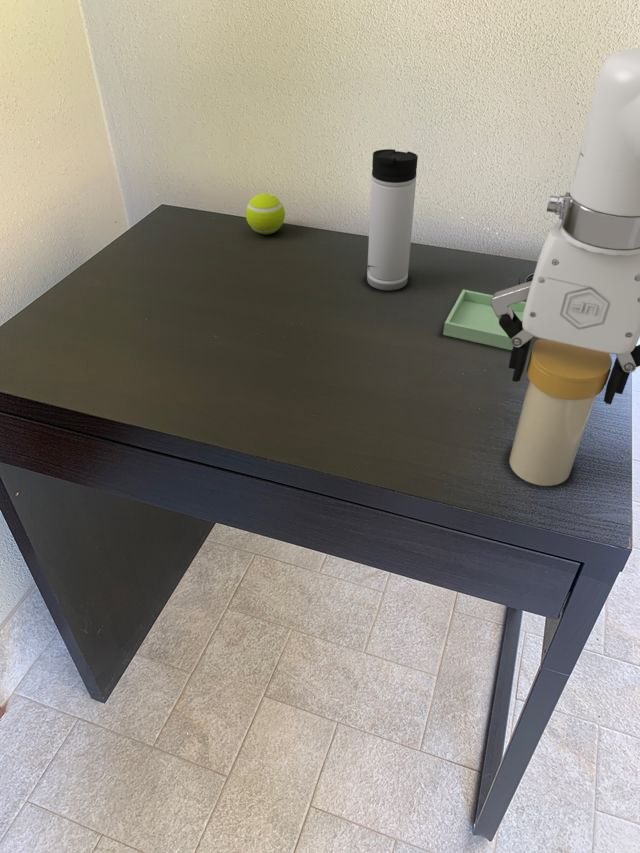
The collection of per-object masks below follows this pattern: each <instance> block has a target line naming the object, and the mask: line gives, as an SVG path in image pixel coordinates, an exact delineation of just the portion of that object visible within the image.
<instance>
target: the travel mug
mask: <svg viewBox="0 0 640 853" xmlns="http://www.w3.org/2000/svg"><path fill="white" fill-rule="evenodd" d="M418 159H419V156H418V155H417V153H415V152H412V151H407V152H406V151H400V150H398V151H397V150H396V149H395V148H394V149H392V148H391V149H390V148H387V149H378V150H375V151H373V152H372V162H371V163H372V165H371V167H372V169H371V175H370V176H371V179H370V201H369V203H370V204H369V222H368V223H369V224H368V225H369V226H368V227H369V228H368V247H367V248H368V251H367V253H368V254H367V270H366V273H367V274H366V275H367V276H366V280H367V284H368V285H369V286H371V287H373V288H374V289H377V290H381V291H387V292H388V291H396V290H400V289H402V288H403V287H405V286H406V285H407V283H408V278H409V267H410V256H411V244H412V231H413V221H414V210H415V209H414V208H415V199H416V198H415V197H416V186H417V176H418V175H417V169H418Z"/></svg>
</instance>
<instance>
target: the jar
mask: <svg viewBox="0 0 640 853" xmlns="http://www.w3.org/2000/svg"><path fill="white" fill-rule="evenodd" d="M526 385H527V386H526V390H525V394H524V398H523V401H522V406H521V410H520V413H519V417H518V422H517V426H516V430H515V434H514V438H513V442H512V445H511V451H510V453H509V459H508V460H509V465H510V468H511V470H512V471H513V472H514V474H516V476H518V477H519V478H520V479H522V480H524V481H525V482H528V483H529V484H533V485H536V486H542V487H552V486H557V485H559V484H562V483H565V481H567V480H568V479H569V477H570V475H571V472H572V469H573V466H574V464H575V461H576V457H577V454H578V452H579V448H580V445H581V443H582V440H583V436H584V433H585V430H586V427H587V425H588V421H589V418H590V415H591V413H592V410H593V407H594V404H595V400H596V398H597V395H596V396H594V397H592V398H589V399H584V400H567V399H561V398H557V397H554V396H551V395H548V394H546V393H544V392H542V391H541V390H539V389H538V388H536V387H535V386H534V385H533V384H532V383H531V382H530V380H529V379H528V382H527V384H526Z"/></svg>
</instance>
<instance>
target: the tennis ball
mask: <svg viewBox="0 0 640 853" xmlns="http://www.w3.org/2000/svg"><path fill="white" fill-rule="evenodd" d="M285 217H286V212H285V208H284V204H283V203H282V201H281V200H280V199H279V198H278V197H276V196H275V195H274V194H271V193H260V194H256V195H255V196H253V197H252V198H251V199H250V200H249V202H248V203H247V205H246V209H245V218H246V219H245V220H246V221H247V224H248V226H249V227H250V228H251V229H252V230H253V231H254V232H256V233H258V234H261V235H271V234H274V233H276V232H277V231H279V230H280V228H281V227H282V225H283V224H284V223H285Z"/></svg>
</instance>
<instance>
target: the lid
mask: <svg viewBox="0 0 640 853" xmlns="http://www.w3.org/2000/svg"><path fill="white" fill-rule="evenodd" d="M527 362H528V363H527V367H526V375H527V378H528V381H529V380H530V382H531V383H532V384H533V385H534V386H535V387H536V388H538V389H539V390H541V391H542V392H544V393H546V394H548V395H551V396H554V397H557V398H561V399H567V400H584V399H589V398H592V397H594V396H596V397H597V396H598V395H599V394H600V393H601V392H603V390H604V389H605V387H606V386H607V383H608V380H609V377H610V374H611V371H612V369H611V368H612V365H613V360H612V356H611V354H608V353H603V352H598V351H593V350H589V349H584V348H580V347H575V346H570V345H566V344H561V343H557V342H552V341H548V340H544V339H540V338H537V340H536V341H534V343H533V344H532V346H531V351H530V354H529V359H528V361H527Z"/></svg>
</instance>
